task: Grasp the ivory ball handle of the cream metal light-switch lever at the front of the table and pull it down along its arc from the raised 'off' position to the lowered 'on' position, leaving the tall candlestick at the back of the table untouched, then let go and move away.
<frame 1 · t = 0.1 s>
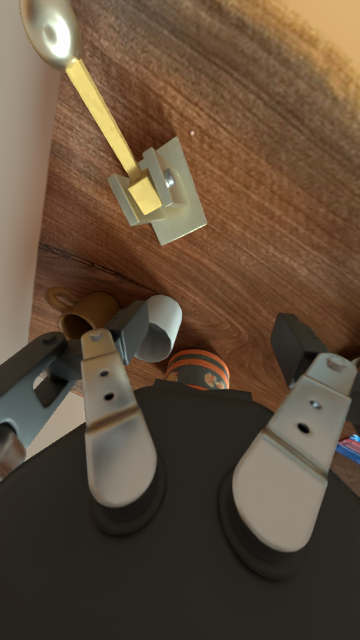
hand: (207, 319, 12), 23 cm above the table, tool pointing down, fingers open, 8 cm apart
beer stein: (192, 376, 47), on the table
switch lever: (110, 129, 15), point 13 cm above the table, hinge at 28.0°
mug: (98, 299, 40), on the table
cup: (162, 313, 39), on the table
switch bracket: (169, 198, 29), on the table
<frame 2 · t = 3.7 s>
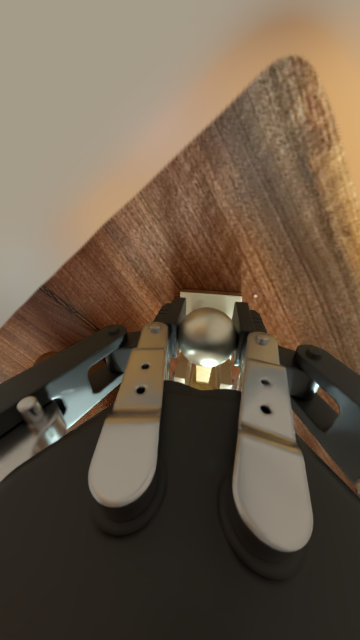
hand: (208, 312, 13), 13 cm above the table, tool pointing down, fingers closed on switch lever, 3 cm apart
switch lever: (203, 366, 14), point 13 cm above the table, hinge at 28.0°, touching gripper
switch bracket: (207, 325, 28), on the table
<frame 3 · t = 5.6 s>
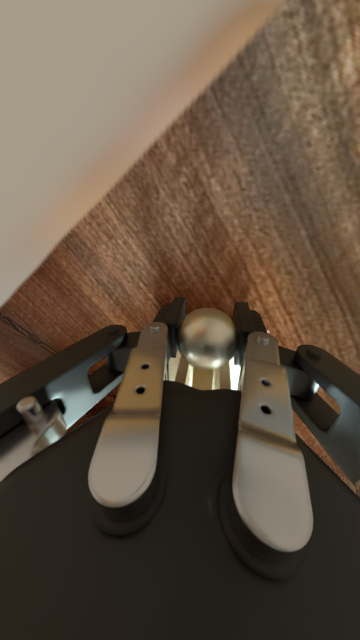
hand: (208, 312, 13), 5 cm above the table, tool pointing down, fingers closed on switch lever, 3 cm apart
switch lever: (199, 415, 11), point 10 cm above the table, hinge at -14.4°, touching gripper
switch bracket: (204, 363, 22), on the table
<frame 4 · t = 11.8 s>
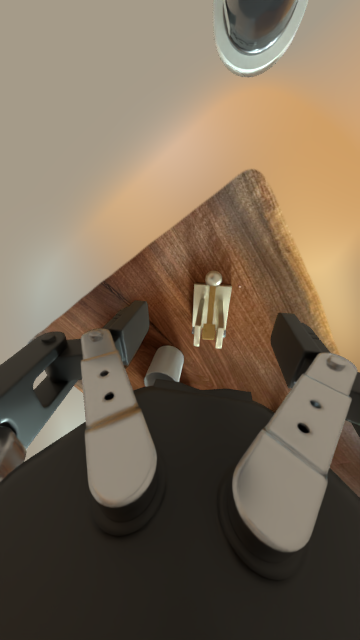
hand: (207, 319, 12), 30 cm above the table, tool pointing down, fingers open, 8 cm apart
switch lever: (211, 304, 35), point 8 cm above the table, hinge at -35.5°
cup: (169, 356, 55), on the table
switch bracket: (210, 306, 44), on the table
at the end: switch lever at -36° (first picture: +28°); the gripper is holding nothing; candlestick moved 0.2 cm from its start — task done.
